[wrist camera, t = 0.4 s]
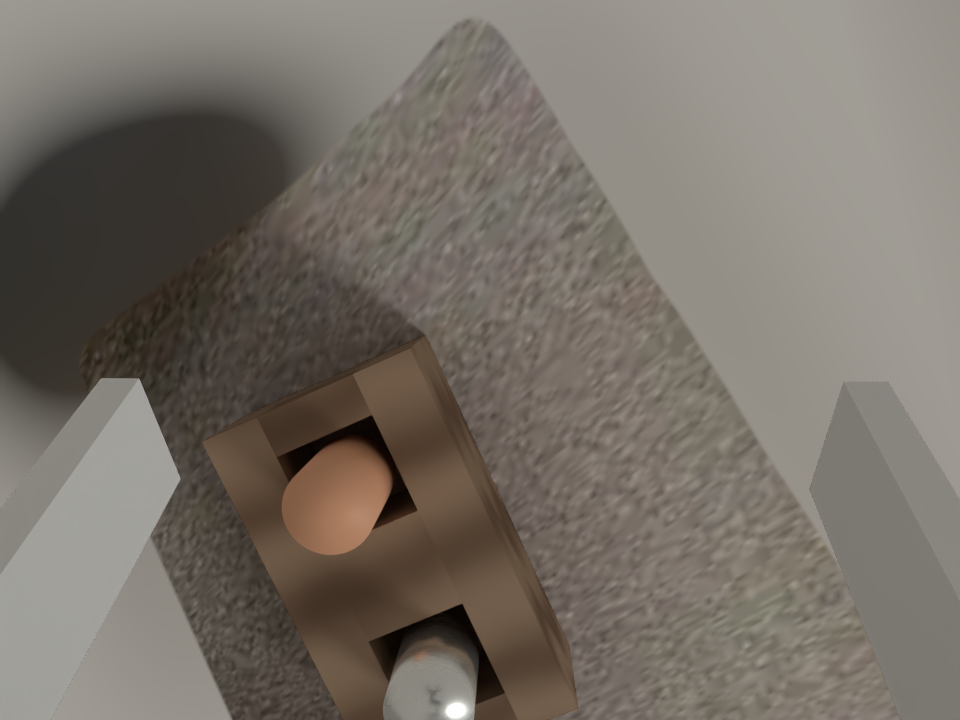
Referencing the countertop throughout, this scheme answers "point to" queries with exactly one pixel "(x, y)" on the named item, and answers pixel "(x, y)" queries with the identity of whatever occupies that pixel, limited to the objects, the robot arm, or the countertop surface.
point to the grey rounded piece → (434, 672)
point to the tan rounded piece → (338, 495)
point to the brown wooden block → (399, 541)
